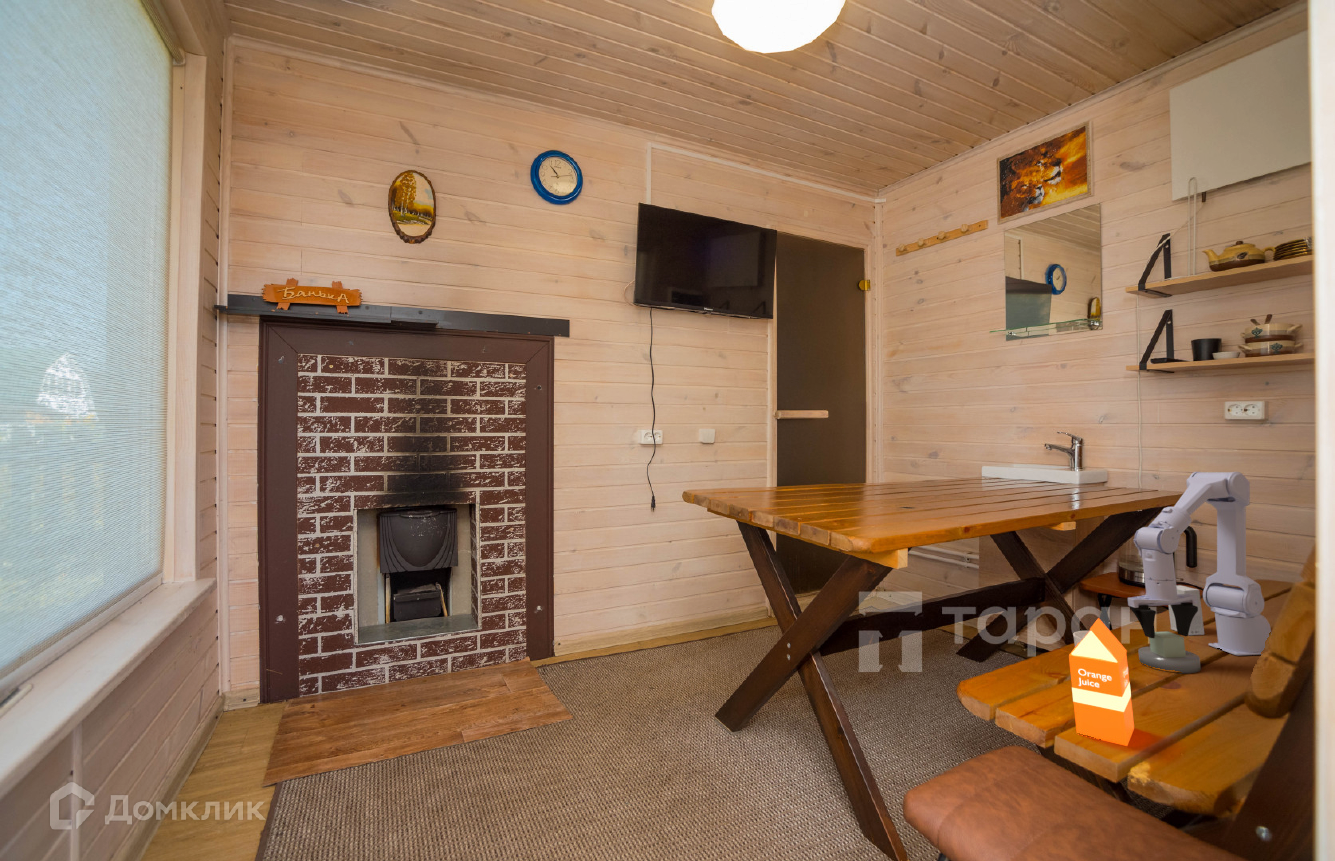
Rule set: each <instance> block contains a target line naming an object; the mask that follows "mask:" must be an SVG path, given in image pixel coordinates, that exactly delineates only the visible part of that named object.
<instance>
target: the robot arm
mask: <svg viewBox="0 0 1335 861" xmlns="http://www.w3.org/2000/svg"><path fill="white" fill-rule="evenodd" d="M1185 483H1186V489H1185V491H1184V492H1183V493H1182V495H1181V496H1180V498H1179V499H1178V500H1177V502H1176V503H1175V504H1174V506H1167V507H1164V508H1163V509H1162V510H1161V512H1160V513H1158V515H1157V516H1156V517H1155V518H1154V520H1152V521H1151V522H1150V523H1149V525H1148V526H1143V527H1141V528H1139V529H1138V530H1136V532H1135V533H1134V538H1133V544H1134V547H1135V548H1136V549H1137V551H1138V556H1140V558H1142V559H1141V560H1142V568H1143V576H1144V586H1145V594H1143V595H1139V596H1138V595H1137V596H1132V597H1127V606H1129V609H1130V610H1131V611H1132V613H1133V615H1134V616H1135V617H1136V619H1137V620H1138V622H1139V624H1140V626H1141V629H1142V632H1143V634H1144V636H1145V637H1147V638H1154V637H1155V632H1156V630H1155V619H1156V613H1157V611H1155V610H1153V609H1151V607H1154V606H1155V607H1157V606H1169V605H1171V608H1172V610H1173V613H1174V616H1175V620H1176V628H1177V631H1176V632H1177V635H1179V636H1182V637H1188V636H1189V635H1188V633H1189V629H1190V625H1191V622H1192V619H1193V617H1194V616H1195V614H1196V613H1197V611H1198V607H1197V606H1194V605H1193V604H1198V601H1197V596H1195V595H1191V594H1177V586H1178V585H1177V579H1176V569H1175V562H1174V554H1173V553H1174V552H1176V551H1177V550H1178V548H1179V541H1180V540H1181V535H1182V534H1183V532H1184V531H1185V530H1186V529H1187V528H1188V527H1189V526H1190V525H1191V523H1192V517H1191V515H1192V514H1193V513H1195V511H1197V510H1198V509H1199V508H1200V507H1201V506H1202V505H1203V504H1205V503H1206V504H1209V505H1211V506H1212V507H1213V508H1214V509H1215V510H1216V565H1217V566H1216V572H1215V573H1212V574H1211V575H1210V576H1207V577H1206V578H1205V586H1204V588H1203V591H1202V599H1203V601H1204V603H1205V605H1206V606H1207V607H1208V608H1210V612H1214V617H1215V626H1216V636H1217V642H1213V643H1212V642H1209V643H1208V647H1209V646H1210V647H1213V648H1214V649H1217V648H1220V649H1222V650H1221V651H1222V652H1223V651H1224V652H1227V653H1229V654H1232V655H1234V656H1252V655H1253V656H1255V655H1256V656H1257V655H1262V654H1261V652H1262V651H1263V650H1264V648H1265V641H1266V640H1267V638H1268V637H1269V633H1270V632H1271V633H1272V629H1271V625H1270V623H1269V620H1268V619H1267V618H1266V617H1265V616H1264V615H1262V614H1261V613H1262V612H1263V611H1264V609H1265V598H1264V596H1263V594H1262V588H1261V587H1262V586H1261V585H1260V584H1259V583H1258V582H1257V581H1255V580H1253V578H1251V577H1249V576H1248V575H1247V509H1246V508H1247V506H1249V505H1250V502H1251V501H1250V500H1251V497H1250V496H1251V494H1250V493H1251V486H1250V484H1251V483H1250V481H1249V479H1248V478H1247V477H1246V476H1245V475H1244V474H1243V473H1242V472H1240V471H1232V472H1231V471H1227V472H1225V471H1220V472H1219V471H1218V472H1217V471H1215V472H1214V471H1213V472H1207V471H1205V472H1204V471H1203V472H1202V471H1193V472H1192V473H1191V474H1190V476H1189V477H1188V478H1186V482H1185ZM1220 649H1219V650H1220Z"/></svg>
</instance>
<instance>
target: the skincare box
mask: <svg viewBox="0 0 1335 861" xmlns="http://www.w3.org/2000/svg"><path fill="white" fill-rule="evenodd" d="M1176 586H1177V594H1191V595H1195V596H1197V601H1198V604H1193V605H1194V606H1197V607H1198V611H1197V613H1196V614H1195V616H1194V617H1193V619H1192V622H1191V625H1190V629H1189V633H1188V636H1200V635H1201V636H1202V635H1205V628H1204V619H1203V610H1202V609H1203V608H1202V603H1201V594H1200V589H1197V588H1193V587H1189V586H1185V585H1176ZM1168 613H1169V615H1168V616H1169V622H1170V630H1173V631H1175V632H1177V628H1176V620H1175V616H1174V613H1173V610H1172V608H1171V605H1168Z"/></svg>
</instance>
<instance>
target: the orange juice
mask: <svg viewBox="0 0 1335 861" xmlns="http://www.w3.org/2000/svg"><path fill="white" fill-rule="evenodd" d="M1089 631H1090V632H1089V633H1087V634H1086V635H1087V636H1086V635H1085V636H1086V637H1085V638H1084V639H1082V640H1081V643H1078V644H1077V646H1076V647H1075V646H1074V648H1073V649H1072V651H1071V652H1070V653H1069V655H1068V660H1069V661H1068V662H1069V670H1070V671H1069V672H1070V679H1071V680H1070V681H1071V692H1072V702H1073V708H1074V720H1075V729H1076V734H1077V733H1080V734H1083V735H1088V736H1091V737H1094V738H1093V739H1095V738H1096V740H1099V739H1101V740H1100V741H1103V742H1108V743H1113V744H1117V745H1121V746H1125V747H1128V745H1129V742H1130V740H1131V737H1132V735H1133V732H1134V729H1135V724H1134V712H1133V703H1132V694H1131V693H1132V692H1131V684H1130V676H1129V675H1130V674H1129V666H1128V659H1127V658H1128V657H1127V655H1128V654H1127V652H1128V650H1127V649H1126V648H1125V647H1124V646H1123V644H1122V643H1121V642H1120V641H1119V640H1118V639H1117V637H1116V636H1115V635H1114V634H1113V633H1112V632H1111V630H1110V629H1109V628H1108V627H1107V626H1106V625H1105V623H1104V622H1103V621H1102V620H1101V619H1100V617H1098V618H1097V619H1096V621H1095V622H1094V623H1093V624H1092V625H1091V626H1090V628H1089ZM1115 637H1116V638H1115ZM1083 735H1082V736H1083ZM1091 737H1090V738H1091Z"/></svg>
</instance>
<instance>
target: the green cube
mask: <svg viewBox="0 0 1335 861" xmlns="http://www.w3.org/2000/svg"><path fill="white" fill-rule="evenodd" d="M1184 637H1185V636H1183V635H1180V634H1178V633H1177V634H1176V633H1174V632H1171V631H1169V630H1168V631H1155V637H1154V638H1149V637H1148V638H1149V646H1150V649H1151V651H1152V652H1154V653H1156V654H1158V655H1161V656H1163V657H1165V658H1167V657H1186V654H1185V651H1186V647H1185V638H1184Z"/></svg>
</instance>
